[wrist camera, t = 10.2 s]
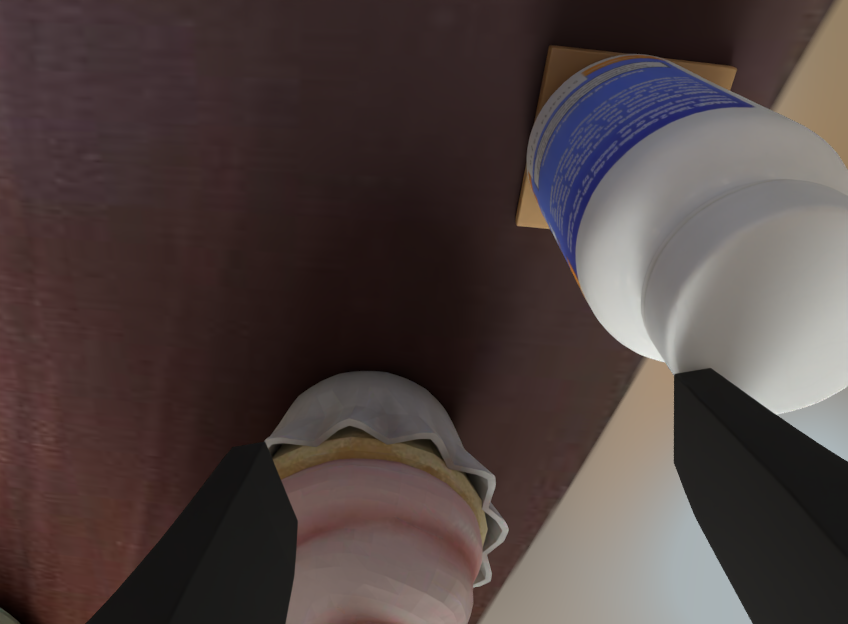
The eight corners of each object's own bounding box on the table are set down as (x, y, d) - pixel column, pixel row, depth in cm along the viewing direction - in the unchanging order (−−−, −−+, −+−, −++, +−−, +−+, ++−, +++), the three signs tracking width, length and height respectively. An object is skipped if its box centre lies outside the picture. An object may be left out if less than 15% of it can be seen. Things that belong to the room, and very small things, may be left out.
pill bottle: (496, 205, 20) (562, 413, 12) (571, 20, 17) (728, 112, 9) (656, 255, 21) (824, 479, 12) (750, 87, 18) (1042, 226, 10)
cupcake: (496, 322, 22) (552, 571, 14) (488, 515, 27) (527, 790, 19) (220, 331, 22) (104, 587, 14) (261, 523, 27) (194, 803, 19)
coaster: (675, 236, 21) (679, 241, 21) (514, 221, 21) (516, 226, 20) (732, 65, 18) (738, 68, 18) (548, 44, 18) (551, 47, 18)
